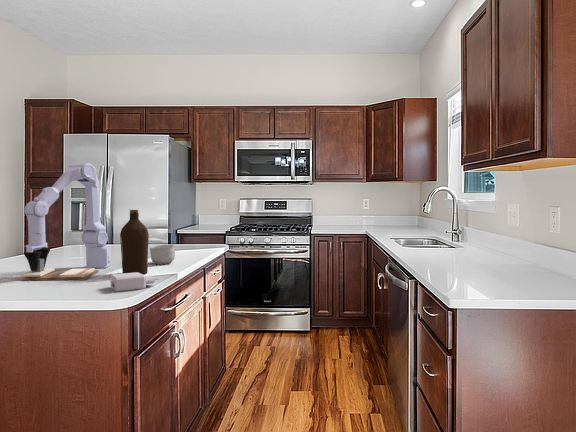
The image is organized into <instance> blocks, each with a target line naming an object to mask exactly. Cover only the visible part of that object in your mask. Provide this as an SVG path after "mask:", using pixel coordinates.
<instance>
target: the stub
mask: <svg viewBox="0 0 576 432" xmlns="http://www.w3.org/2000/svg"><path fill="white" fill-rule="evenodd" d="M52 271H56V268H54V267H52V268H51V267H49V268H47V267H45V268H44V259H39V264H38V270H37V271H31V270H28V271H26V272H23V273H20V274H19V276H20V278H24V277H41V276H43V275H45V274H47V273H50V272H52Z"/></svg>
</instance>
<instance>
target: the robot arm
mask: <svg viewBox="0 0 576 432" xmlns="http://www.w3.org/2000/svg"><path fill="white" fill-rule="evenodd" d="M73 181H77V182H79V183H80V184H82V186H83V187H84V189H85V192H84V193H85V211H86V212H85V214H86V216H85V217H86V223H85V225H84V226H83V228H82V234H81V242H82V243H83V244H84V246H85V261H86V263H85V264H86V265H84V266H83V267H82V269H84V268H95V269H107V268H108V267H110V266H112V264H111V248H110V246H108V245H106V244H107V243H108V241H109V235H108V233H107V228H106V227H105V225H104V224H102V223H101V221H102V220H101V204H100V203H101V199H100V181H99V178H98V176H97V167H95V166H94V165H93V164H92V163H90V162H89V163H88V162H87V163H72V164H69V165H68V167H66V168H65V170H64V172H63V173H62V174H61V176H59V178H58V179H57V180H56V181H55V183H54V184H53V185H52V186H47V187H44V188H42V189H41V192H40V193H39V194H38V195H37V196H35V197H34V198H33V200H32V201H28V202H27V203H26V205H25V207H24V208H23V212H24V214H25V215H26V219H27V228H28V229H27V231H28V234H27V235H28V237H27V238H28V244H25V248H26V249H25V250H26V251H24V252H23V255H24V257H25V258H26V260H27V262H28V265H29V269H30V271H37V270H38V264H39V259H44V268H46V267H45V266H46V263H47V259H48V256H49V253H50V252H51V248H48V242H47V241H46V215H48V213H49V210H50V207H51V206H52V205H53V204H54V203H55V202H56V201H57V200H58V199H59V198H60V193H61V192H62V191H63V190H64V189H65V188H67V186H69V185H70V184H71V182H73Z"/></svg>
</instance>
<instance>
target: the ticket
mask: <svg viewBox="0 0 576 432" xmlns="http://www.w3.org/2000/svg"><path fill="white" fill-rule="evenodd" d="M66 270H67V271H65V272H63V273H62V274H59V277H84V276H86V275H88V274H89V273H91V272H93V271H95V270H96V268H70V269H66Z"/></svg>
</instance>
